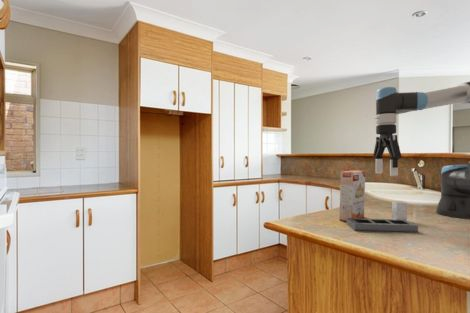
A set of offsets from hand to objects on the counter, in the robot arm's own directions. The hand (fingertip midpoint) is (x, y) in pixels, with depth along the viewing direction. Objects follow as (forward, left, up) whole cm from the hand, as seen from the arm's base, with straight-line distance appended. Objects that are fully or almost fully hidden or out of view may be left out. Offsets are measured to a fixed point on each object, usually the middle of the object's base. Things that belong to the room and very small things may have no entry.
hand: (386, 174), depth 115 cm
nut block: (-5, +1, -20) cm, 20 cm away
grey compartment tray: (+8, +13, -20) cm, 25 cm away
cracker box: (+13, -1, -20) cm, 24 cm away
